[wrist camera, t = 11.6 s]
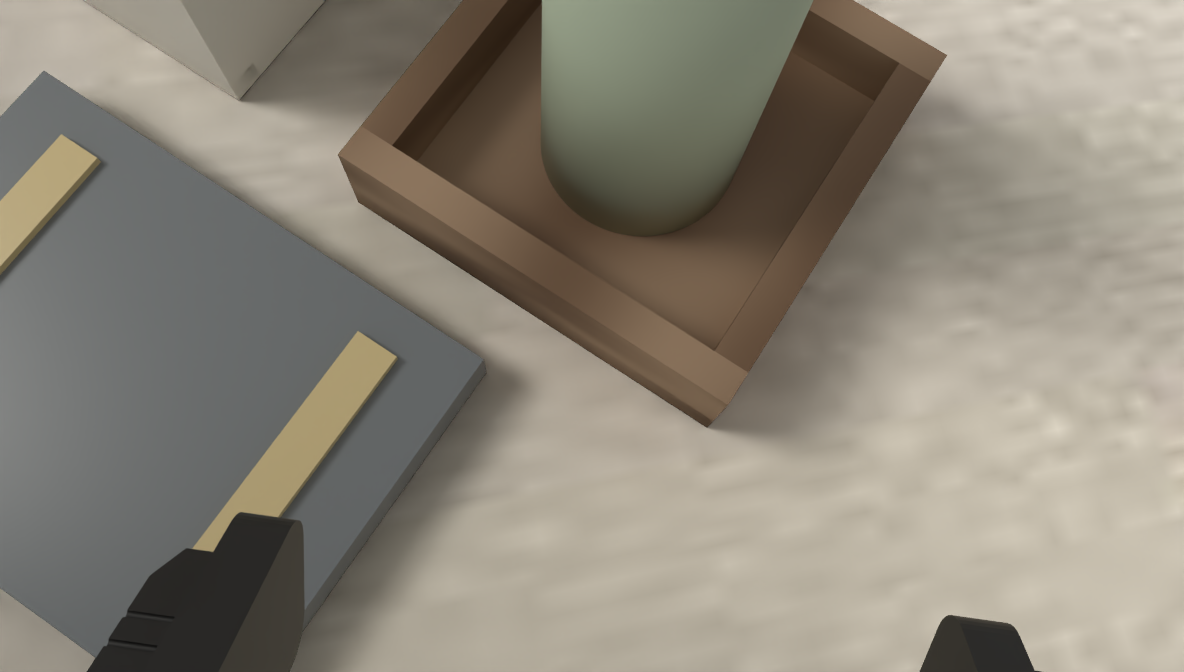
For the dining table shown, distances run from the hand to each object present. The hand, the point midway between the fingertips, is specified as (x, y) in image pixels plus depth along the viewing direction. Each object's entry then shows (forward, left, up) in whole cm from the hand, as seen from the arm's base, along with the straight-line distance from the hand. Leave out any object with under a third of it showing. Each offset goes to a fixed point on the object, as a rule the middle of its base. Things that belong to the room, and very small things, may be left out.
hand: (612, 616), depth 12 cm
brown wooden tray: (-5, +10, -9) cm, 14 cm away
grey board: (-11, -1, -9) cm, 14 cm away
